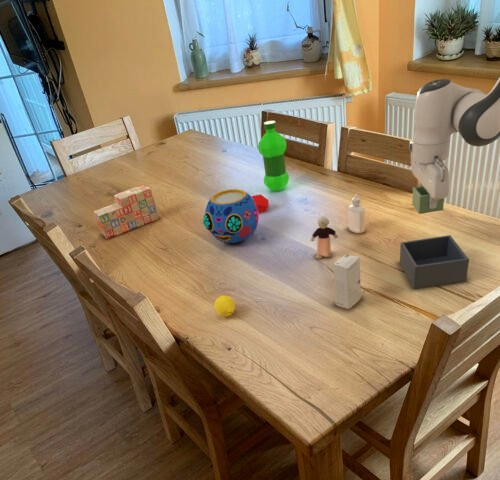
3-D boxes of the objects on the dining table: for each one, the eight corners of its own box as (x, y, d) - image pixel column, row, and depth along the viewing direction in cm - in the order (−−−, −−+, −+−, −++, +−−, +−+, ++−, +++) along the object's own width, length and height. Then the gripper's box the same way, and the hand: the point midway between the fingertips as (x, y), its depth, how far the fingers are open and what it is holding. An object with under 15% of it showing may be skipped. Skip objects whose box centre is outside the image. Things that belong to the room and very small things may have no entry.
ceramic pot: (200, 249, 164) (190, 207, 155) (225, 224, 176) (217, 184, 167) (248, 254, 157) (240, 210, 147) (270, 228, 168) (264, 185, 159)
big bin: (447, 256, 138) (450, 234, 134) (466, 281, 128) (469, 259, 124) (399, 263, 139) (400, 242, 135) (413, 289, 129) (415, 267, 125)
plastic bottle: (292, 182, 197) (285, 116, 182) (287, 193, 189) (280, 125, 174) (267, 183, 200) (259, 119, 184) (262, 194, 192) (253, 128, 176)
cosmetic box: (349, 310, 126) (348, 269, 118) (334, 305, 128) (332, 264, 121) (361, 297, 129) (361, 257, 122) (347, 293, 132) (345, 253, 124)
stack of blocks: (107, 239, 181) (95, 208, 173) (101, 234, 185) (90, 203, 178) (159, 218, 189) (150, 187, 181) (152, 214, 193) (143, 183, 185)
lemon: (212, 311, 134) (208, 295, 131) (230, 304, 136) (227, 288, 132) (222, 324, 129) (218, 307, 126) (241, 316, 130) (238, 300, 127)
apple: (272, 192, 179) (250, 186, 178) (270, 203, 174) (247, 198, 174) (268, 207, 184) (247, 202, 184) (265, 218, 180) (244, 213, 179)
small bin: (435, 200, 138) (436, 183, 135) (443, 210, 133) (444, 192, 130) (412, 204, 139) (412, 187, 136) (419, 214, 134) (419, 196, 131)
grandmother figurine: (314, 261, 147) (311, 222, 139) (311, 255, 150) (308, 216, 142) (339, 255, 147) (338, 216, 140) (336, 250, 150) (334, 211, 143)
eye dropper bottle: (352, 235, 156) (351, 199, 149) (347, 227, 160) (346, 192, 153) (365, 232, 156) (365, 196, 149) (361, 225, 160) (360, 189, 153)
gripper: (458, 162, 118) (453, 215, 127) (430, 136, 134) (427, 185, 143) (431, 166, 119) (428, 219, 127) (407, 140, 135) (405, 189, 143)
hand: (427, 201), depth 135 cm, fingers closed on small bin, 6 cm apart
